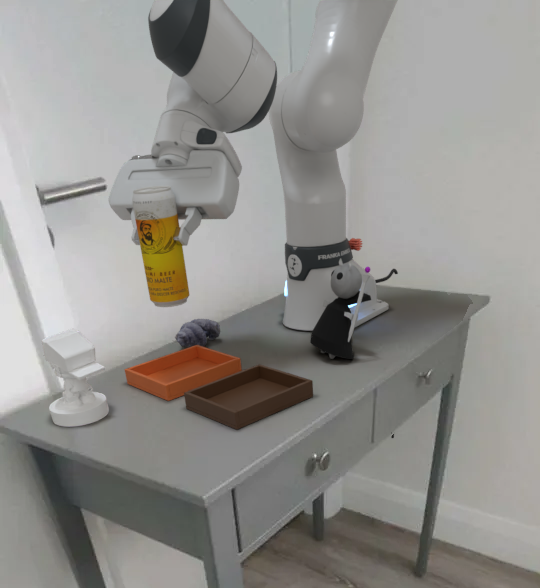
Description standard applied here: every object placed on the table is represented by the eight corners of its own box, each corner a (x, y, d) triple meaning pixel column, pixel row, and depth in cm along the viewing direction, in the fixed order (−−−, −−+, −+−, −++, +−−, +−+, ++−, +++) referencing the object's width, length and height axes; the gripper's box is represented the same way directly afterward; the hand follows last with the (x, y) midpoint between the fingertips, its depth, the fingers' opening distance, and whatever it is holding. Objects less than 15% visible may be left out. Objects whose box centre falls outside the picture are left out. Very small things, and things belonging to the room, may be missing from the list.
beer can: (143, 307, 98) (121, 192, 89) (163, 296, 102) (144, 186, 93) (178, 308, 96) (159, 191, 87) (197, 297, 100) (181, 184, 91)
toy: (298, 344, 114) (319, 251, 107) (331, 349, 117) (354, 259, 110) (326, 363, 106) (352, 263, 98) (361, 368, 109) (389, 271, 101)
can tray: (199, 358, 116) (197, 344, 114) (242, 373, 108) (240, 358, 107) (127, 383, 108) (124, 369, 107) (168, 401, 101) (165, 385, 99)
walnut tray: (260, 379, 105) (259, 363, 104) (313, 396, 98) (312, 380, 96) (186, 408, 98) (183, 392, 96) (236, 429, 91) (234, 412, 89)
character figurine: (86, 400, 104) (66, 322, 97) (124, 411, 99) (106, 330, 91) (41, 419, 99) (16, 339, 91) (79, 432, 94) (56, 348, 86)
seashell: (216, 344, 125) (180, 361, 120) (200, 320, 125) (163, 336, 119) (229, 329, 121) (193, 347, 116) (213, 304, 120) (176, 320, 115)
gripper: (113, 140, 95) (89, 228, 95) (234, 132, 87) (207, 228, 87) (137, 172, 101) (114, 255, 101) (252, 167, 93) (227, 257, 93)
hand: (158, 243), depth 94 cm, fingers closed on beer can, 6 cm apart
